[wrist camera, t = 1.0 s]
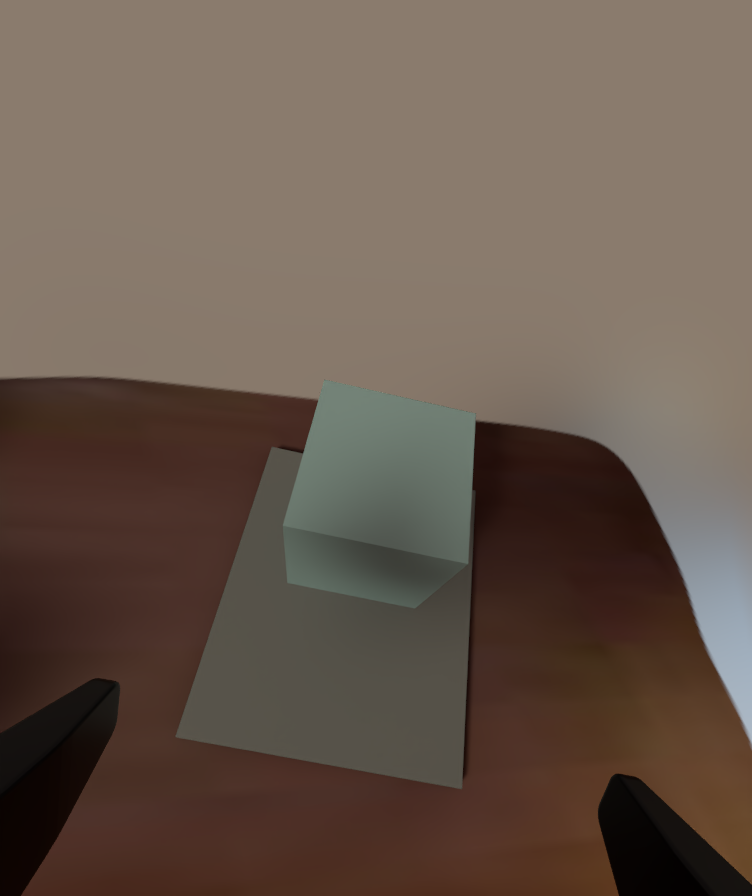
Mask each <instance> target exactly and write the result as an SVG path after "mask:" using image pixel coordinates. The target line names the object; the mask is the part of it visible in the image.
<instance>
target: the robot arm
mask: <svg viewBox="0 0 752 896" xmlns="http://www.w3.org/2000/svg"><path fill="white" fill-rule="evenodd" d="M119 695H120V685H119V683H118V682H116V681H112V680H106V679H101V678H95V679H92V680H90V681H88V682H87V683H85V684H83V685H82V686H80V687H78V688H77V689H75V690H73V691H71V692H70V693H68V694H66V695H65V696H63V697H61V698H60V699H58V700H56V701H55V702H53V703H51V704H49V705H48V706H46V707H44V708H43V709H41V710H39V711H38V712H36V713H34V714H33V715H31V716H29V717H27V718H26V719H24V720H22V721H21V722H19V723H17V724H16V725H14V726H12V727H11V728H9V729H7V730H5V731H4V732H2V733H0V896H21V895H22V893H23V891H24V890H25V888H26V887H27V885H28V884H29V882H30V880H31V879H32V877H33V876H34V874H35V873H36V871H37V869H38V868H39V866H40V865H41V863H42V862H43V860H44V859H45V857H46V855H47V854H48V852H49V850H50V849H51V847H52V845H53V844H54V842H55V841H56V839H57V837H58V835H59V833H60V832H61V830H62V828H63V826H64V824H65V823H66V821H67V819H68V817H69V815H70V813H71V811H72V809H73V808H74V806H75V804H76V802H77V800H78V798H79V796H80V794H81V792H82V790H83V789H84V787H85V785H86V783H87V781H88V779H89V777H90V775H91V773H92V772H93V770H94V768H95V766H96V764H97V762H98V760H99V758H100V756H101V755H102V753H103V751H104V749H105V747H106V745H107V743H108V741H109V739H110V737H111V735H112V733H113V731H114V728H115V726H116V722H117V715H118V705H119ZM598 819H599V824H600V828H601V832H602V835H603V839H604V843H605V846H606V850H607V853H608V857H609V861H610V864H611V868H612V872H613V875H614V879H615V883H616V886H617V890H618V894H619V896H752V884H750V883H749V882H748V881H747V880H746V879H745V878H744V877H743V876H742V875H741V874H740V873H739V872H738V871H737V870H736V869H735V868H734V867H732V866H731V865H730V864H729V863H728V862H727V861H726V860H725V859H724V858H723V857H722V856H721V855H720V854H719V853H718V852H717V851H716V850H715V849H713V848H712V847H711V846H710V845H709V844H708V843H707V842H706V841H705V840H704V839H703V838H702V837H701V836H700V835H699V834H698V833H697V832H696V831H694V830H693V829H692V828H691V827H690V826H689V825H688V824H687V823H686V822H685V821H684V820H683V819H682V818H681V817H680V816H679V815H678V814H676V813H675V812H674V811H673V810H672V809H671V808H670V807H669V806H668V805H667V804H666V803H665V802H664V801H663V800H662V799H661V798H660V797H659V796H657V795H656V794H655V793H654V792H653V791H652V790H651V789H650V788H649V787H648V786H647V785H646V784H645V783H644V782H643V781H641V780H640V779H639V778H637V777H634V776H629V775H623V774H615V775H613V776H612V777H611V779H610V781H609V783H608V786H607V788H606V790H605V793H604V795H603V797H602V799H601V802H600V804H599V808H598Z"/></svg>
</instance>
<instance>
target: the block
mask: <svg viewBox="0 0 752 896" xmlns="http://www.w3.org/2000/svg"><path fill="white" fill-rule="evenodd" d="M475 419H476V414H475V413H471V412H467V411H462V410H458V409H453V408H449V407H444V406H440V405H435V404H431V403H426V402H422V401H418V400H413V399H408V398H404V397H399V396H395V395H391V394H386V393H382V392H377V391H373V390H368V389H364V388H360V387H355V386H350V385H346V384H341V383H337V382H333V381H328V380H324V383H323V387H322V390H321V394H320V397H319V401H318V404H317V408H316V411H315V415H314V418H313V422H312V425H311V429H310V432H309V436H308V439H307V443H306V446H305V450H304V453H303V457H302V460H301V463H300V467H299V470H298V474H297V477H296V481H295V484H294V488H293V491H292V495H291V498H290V502H289V505H288V509H287V512H286V516H285V519H284V523H283V535H284V547H285V559H286V572H287V583H290V584H295V585H300V586H305V587H310V588H315V589H320V590H325V591H330V592H335V593H340V594H345V595H350V596H355V597H360V598H365V599H370V600H375V601H380V602H385V603H390V604H395V605H400V606H405V607H410V608H416V607H417V606H419V605H420V604H421V603H422V602H423V601H425V600H426V599H427V598H428V597H429V596H431V595H432V594H433V593H434V592H435V591H437V590H438V589H439V588H440V587H441V586H443V585H444V584H445V583H446V582H447V581H449V580H450V579H451V578H452V577H453V576H454V575H456V574H457V573H458V572H459V571H460V570H462V569H463V568H464V567H465V566H466V565H468V558H469V538H470V519H471V499H472V479H473V459H474V439H475Z"/></svg>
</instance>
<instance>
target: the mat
mask: <svg viewBox="0 0 752 896" xmlns="http://www.w3.org/2000/svg"><path fill="white" fill-rule="evenodd" d="M302 457H303V453H298V452H294V451H289V450H284V449H280V448H275V447H272V448H271V451H270V454H269V457H268V460H267V463H266V466H265V469H264V472H263V475H262V478H261V481H260V484H259V487H258V490H257V493H256V496H255V499H254V502H253V505H252V508H251V511H250V514H249V517H248V520H247V523H246V526H245V529H244V532H243V535H242V538H241V541H240V544H239V547H238V550H237V553H236V556H235V559H234V562H233V565H232V568H231V571H230V574H229V577H228V580H227V583H226V586H225V589H224V592H223V595H222V598H221V601H220V604H219V607H218V610H217V613H216V616H215V619H214V622H213V625H212V628H211V631H210V635H209V638H208V641H207V644H206V647H205V650H204V653H203V656H202V659H201V662H200V665H199V668H198V671H197V674H196V677H195V680H194V683H193V686H192V689H191V692H190V695H189V698H188V701H187V704H186V707H185V710H184V713H183V716H182V719H181V722H180V725H179V728H178V731H177V734H176V737H178V738H183V739H189V740H194V741H200V742H205V743H211V744H216V745H222V746H227V747H233V748H238V749H244V750H249V751H255V752H260V753H266V754H271V755H277V756H282V757H288V758H293V759H299V760H304V761H310V762H315V763H321V764H327V765H332V766H338V767H343V768H349V769H354V770H360V771H365V772H371V773H376V774H382V775H387V776H393V777H398V778H404V779H409V780H415V781H420V782H426V783H431V784H437V785H442V786H448V787H453V788H459V789H462V778H463V756H464V734H465V712H466V690H467V668H468V646H469V624H470V602H471V580H472V558H473V536H474V514H475V492H476V491H475V490H472V499H471V519H470V538H469V558H468V565H466V566H465V567H464V568H463V569H462V570H460V571H459V572H458V573H457V574H456V575H454V576H453V577H452V578H451V579H450V580H449V581H447V582H446V583H445V584H444V585H443V586H441V587H440V588H439V589H438V590H437V591H435V592H434V593H433V594H432V595H431V596H429V597H428V598H427V599H426V600H425V601H423V602H422V603H421V604H420V605H419V606H417V607H416V608H410V607H405V606H400V605H395V604H390V603H385V602H380V601H375V600H370V599H365V598H360V597H355V596H350V595H345V594H340V593H335V592H330V591H325V590H320V589H315V588H310V587H305V586H300V585H295V584H290V583H287V572H286V559H285V547H284V535H283V523H284V519H285V516H286V512H287V509H288V505H289V502H290V498H291V495H292V491H293V488H294V484H295V481H296V477H297V474H298V470H299V467H300V463H301V460H302Z"/></svg>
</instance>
